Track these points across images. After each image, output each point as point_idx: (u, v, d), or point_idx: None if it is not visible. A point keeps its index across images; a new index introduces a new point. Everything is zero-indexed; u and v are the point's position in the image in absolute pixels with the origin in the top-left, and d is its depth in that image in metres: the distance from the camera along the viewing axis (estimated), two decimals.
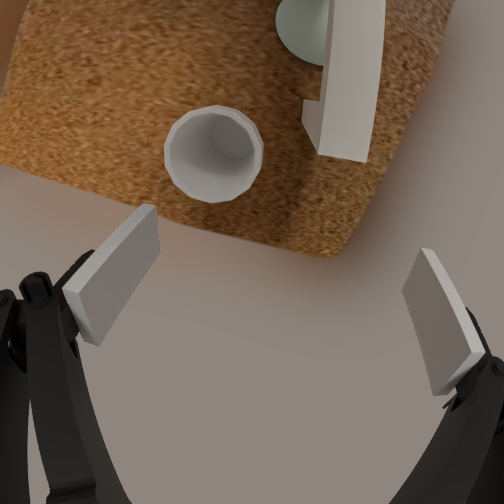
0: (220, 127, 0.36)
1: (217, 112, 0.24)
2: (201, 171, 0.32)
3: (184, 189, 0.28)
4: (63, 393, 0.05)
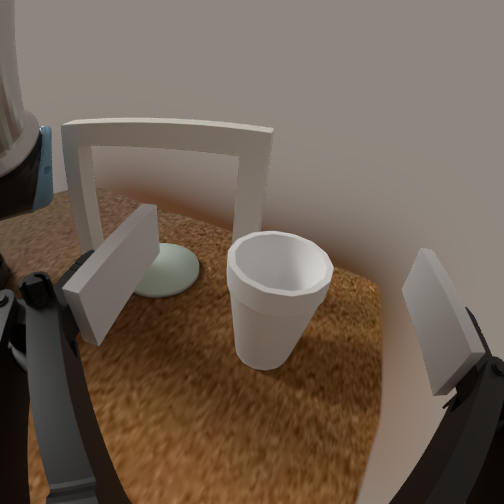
0: None
1: (236, 247, 0.27)
2: None
3: (321, 284, 0.24)
4: (62, 393, 0.05)
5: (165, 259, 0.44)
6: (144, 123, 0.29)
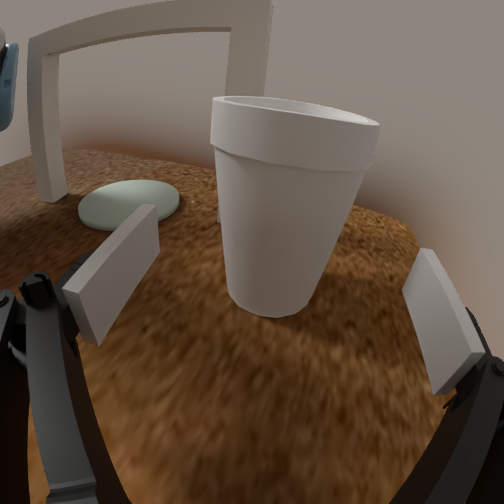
0: None
1: (225, 97, 0.15)
2: None
3: (368, 123, 0.12)
4: (63, 393, 0.05)
5: (136, 192, 0.32)
6: (118, 10, 0.18)
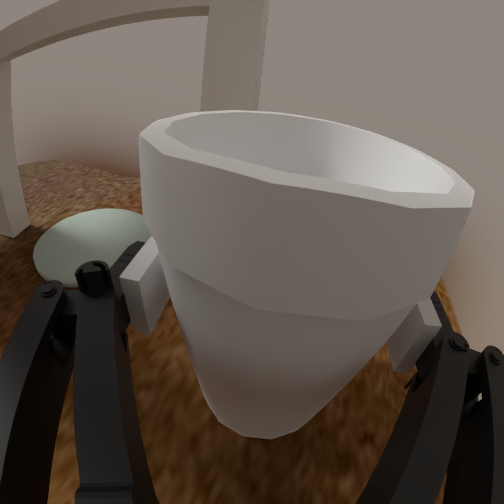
0: None
1: (180, 118, 0.08)
2: None
3: (464, 192, 0.05)
4: (111, 388, 0.06)
5: (102, 229, 0.25)
6: None
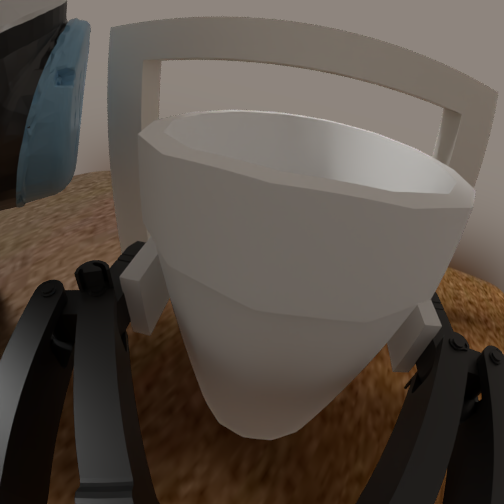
0: None
1: (179, 118, 0.08)
2: None
3: (465, 192, 0.05)
4: (110, 388, 0.06)
5: None
6: (310, 25, 0.13)
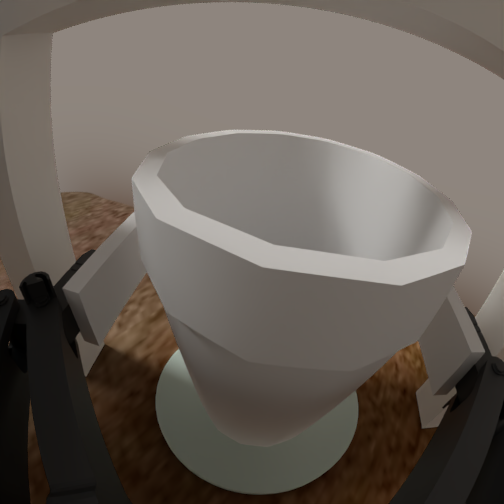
0: None
1: (174, 147, 0.08)
2: None
3: (460, 239, 0.06)
4: (63, 393, 0.05)
5: None
6: None
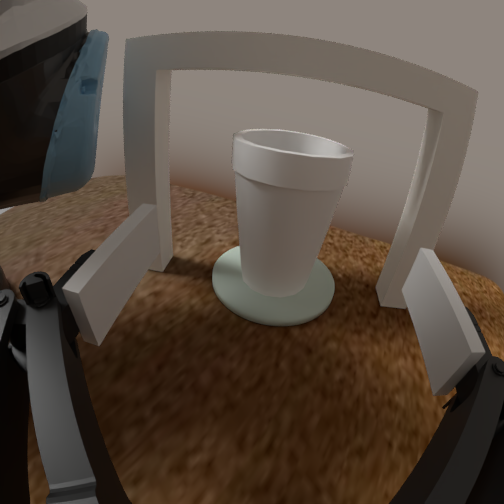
0: None
1: (242, 133, 0.22)
2: None
3: (344, 155, 0.19)
4: (62, 393, 0.05)
5: None
6: (304, 38, 0.16)
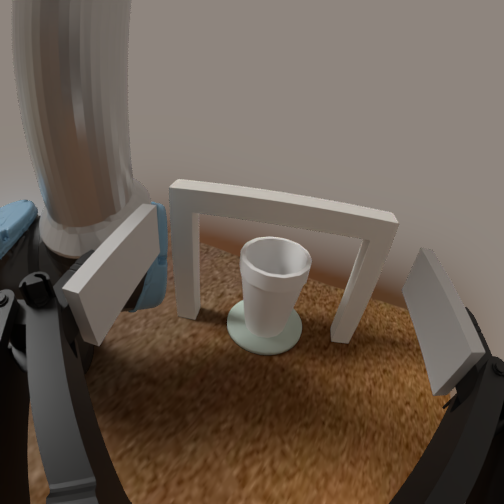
0: None
1: (245, 248, 0.39)
2: None
3: (303, 270, 0.36)
4: (63, 393, 0.05)
5: None
6: (283, 203, 0.33)
